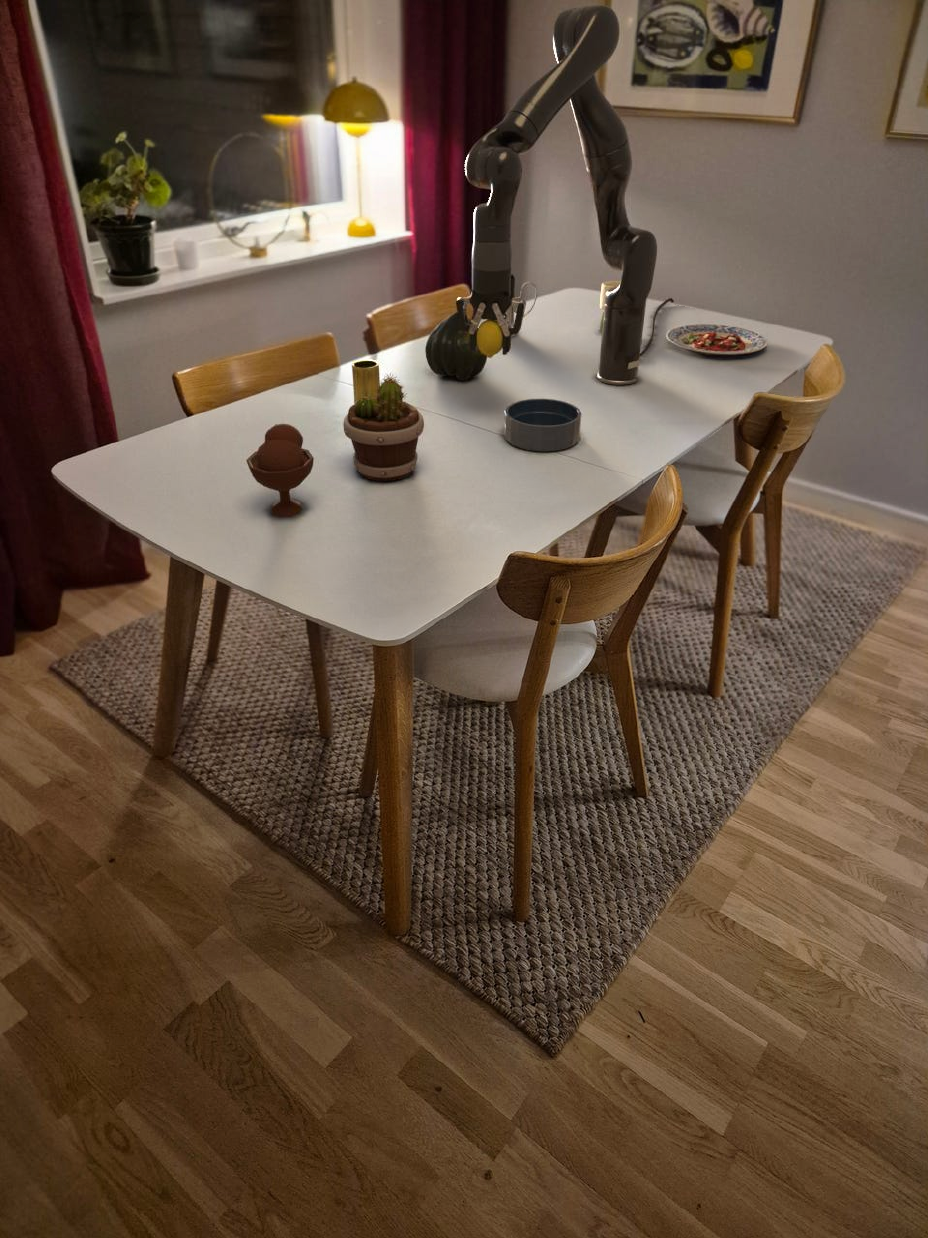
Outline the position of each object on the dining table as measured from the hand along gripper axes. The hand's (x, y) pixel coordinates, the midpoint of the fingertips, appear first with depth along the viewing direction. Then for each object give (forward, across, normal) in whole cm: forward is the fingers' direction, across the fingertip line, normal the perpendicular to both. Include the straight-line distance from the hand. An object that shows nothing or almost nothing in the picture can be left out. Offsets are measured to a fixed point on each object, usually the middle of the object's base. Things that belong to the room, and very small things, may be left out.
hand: (489, 352), depth 170 cm
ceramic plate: (+15, -48, -65) cm, 82 cm away
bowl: (+15, -12, +6) cm, 20 cm away
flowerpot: (+15, +14, +29) cm, 35 cm away
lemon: (+1, 0, 0) cm, 1 cm away
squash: (+15, +14, -27) cm, 34 cm away
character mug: (+15, -20, -70) cm, 74 cm away
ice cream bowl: (+15, +26, +48) cm, 56 cm away
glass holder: (+15, +8, -63) cm, 65 cm away
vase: (+15, +23, +12) cm, 30 cm away
